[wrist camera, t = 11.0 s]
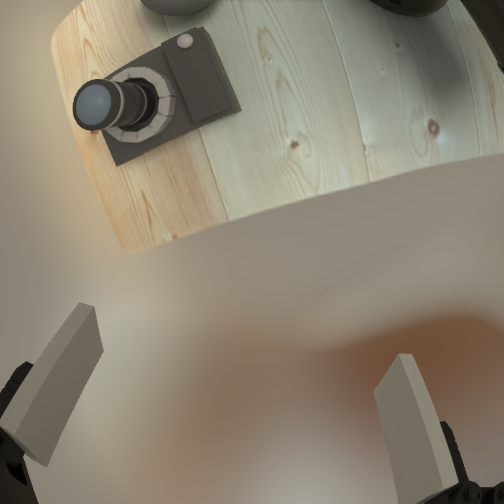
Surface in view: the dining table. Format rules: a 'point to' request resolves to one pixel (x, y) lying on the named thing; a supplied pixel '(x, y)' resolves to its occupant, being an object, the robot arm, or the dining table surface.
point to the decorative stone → (176, 6)
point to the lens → (112, 104)
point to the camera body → (173, 93)
